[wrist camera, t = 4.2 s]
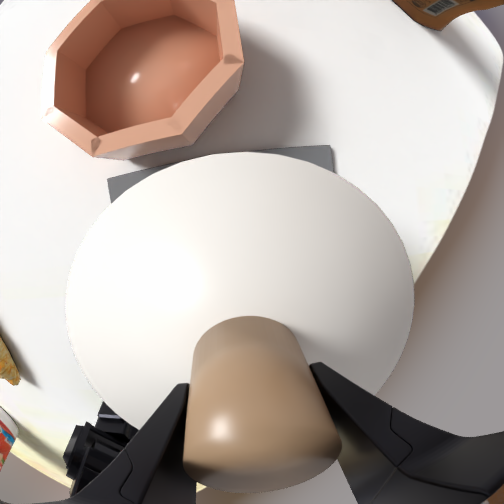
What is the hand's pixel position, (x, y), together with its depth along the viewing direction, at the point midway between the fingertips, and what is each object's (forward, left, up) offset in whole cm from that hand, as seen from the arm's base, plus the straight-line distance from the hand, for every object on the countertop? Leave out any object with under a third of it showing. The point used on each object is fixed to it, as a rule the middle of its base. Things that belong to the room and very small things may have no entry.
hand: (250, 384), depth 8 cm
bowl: (+15, +4, -12) cm, 20 cm away
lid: (0, 0, -2) cm, 2 cm away
